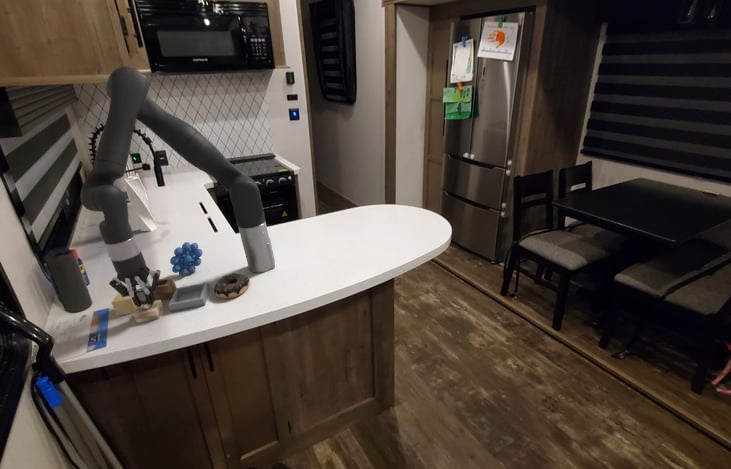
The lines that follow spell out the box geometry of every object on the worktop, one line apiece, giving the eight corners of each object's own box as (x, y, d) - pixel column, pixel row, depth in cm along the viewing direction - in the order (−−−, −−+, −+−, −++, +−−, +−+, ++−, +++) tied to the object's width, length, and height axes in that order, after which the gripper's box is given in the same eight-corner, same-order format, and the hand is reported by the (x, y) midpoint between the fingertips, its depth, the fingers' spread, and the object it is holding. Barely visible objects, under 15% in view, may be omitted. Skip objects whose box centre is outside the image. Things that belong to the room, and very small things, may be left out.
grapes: (201, 263, 142) (193, 235, 137) (209, 268, 138) (201, 239, 133) (171, 276, 135) (160, 246, 130) (178, 282, 131) (167, 252, 126)
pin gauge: (156, 311, 115) (147, 287, 111) (154, 316, 113) (144, 291, 109) (147, 313, 115) (137, 288, 111) (144, 318, 112) (133, 293, 108)
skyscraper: (162, 225, 184) (143, 170, 172) (153, 232, 177) (132, 175, 165) (147, 226, 185) (127, 171, 173) (138, 232, 178) (116, 176, 166)
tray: (209, 288, 125) (207, 282, 124) (205, 305, 116) (202, 298, 115) (178, 294, 123) (176, 288, 122) (171, 312, 114) (168, 305, 113)
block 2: (177, 289, 126) (172, 276, 124) (173, 298, 121) (168, 285, 119) (159, 292, 125) (155, 280, 123) (155, 301, 120) (150, 288, 118)
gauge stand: (163, 307, 117) (160, 299, 115) (158, 318, 111) (155, 310, 110) (143, 311, 116) (139, 303, 114) (136, 323, 110) (133, 314, 109)
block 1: (141, 302, 121) (136, 289, 119) (136, 312, 116) (130, 298, 114) (123, 305, 120) (118, 292, 118) (117, 315, 115) (111, 302, 113)
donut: (254, 279, 128) (251, 269, 126) (245, 299, 117) (242, 288, 116) (222, 282, 128) (219, 272, 126) (210, 302, 117) (206, 292, 116)
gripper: (155, 243, 109) (173, 293, 116) (103, 252, 107) (125, 302, 114) (148, 254, 102) (167, 306, 110) (92, 264, 100) (116, 316, 107)
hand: (146, 304), depth 112 cm, fingers closed on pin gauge, 2 cm apart
